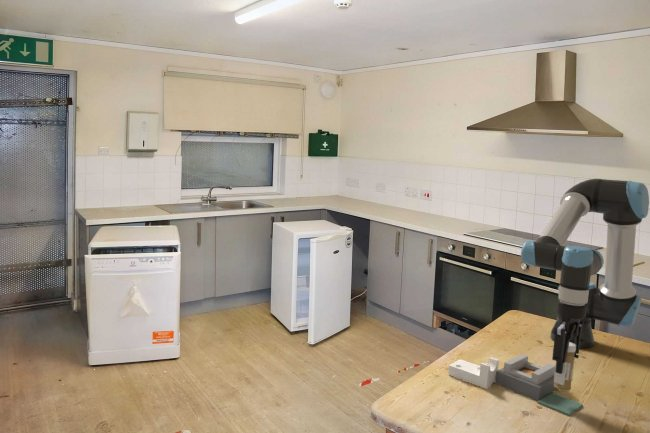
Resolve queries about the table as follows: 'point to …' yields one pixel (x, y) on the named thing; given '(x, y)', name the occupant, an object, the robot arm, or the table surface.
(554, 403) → the mat
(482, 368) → the bracket
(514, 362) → the grey square holder
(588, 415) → the table surface
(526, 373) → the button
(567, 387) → the sprinkles bottle
